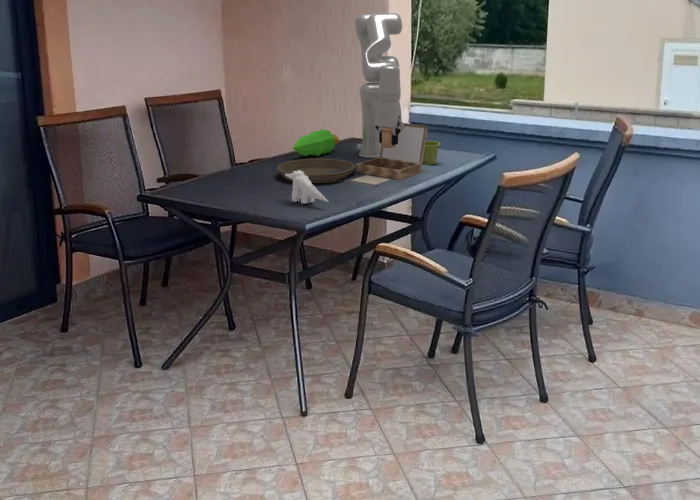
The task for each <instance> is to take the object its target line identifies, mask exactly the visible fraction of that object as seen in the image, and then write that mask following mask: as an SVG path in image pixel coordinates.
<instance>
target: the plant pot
mask: <svg viewBox="0 0 700 500" xmlns="http://www.w3.org/2000/svg"><path fill="white" fill-rule="evenodd" d="M440 145H441V142H438V141H433V140H426V143H425V149H424V155H423V162H422V163H420V164H422V165H425V166H433V165H436V164H437V157H438V153H439V148H440Z"/></svg>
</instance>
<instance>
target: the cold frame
mask: <svg viewBox="0 0 700 500" xmlns="http://www.w3.org/2000/svg"><path fill="white" fill-rule="evenodd" d="M422 166H423V164H421V163H417V162H410V161H403V160H397V159H390V158H383V157H381V158H380V157H379V158H371V159H369V160H366V161H362V162H358V163H356V164H355V167H356V174H363V175H368V176H374V177H380V178H386V179H391V180H392V179H393V180H398V181H399V180H403V179H407V178H410V177H412V176H415V175H418V174H422V172H423V171H422Z"/></svg>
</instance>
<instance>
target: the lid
mask: <svg viewBox="0 0 700 500" xmlns="http://www.w3.org/2000/svg"><path fill="white" fill-rule="evenodd" d="M403 124H404V125H405V128H404V129H403V130H402V131H401V132H400V134H398V144H397V145H395V147H394V148H383V147H382V144H381V151H380V157H381V158H387V159H393V160H400V161H407V162H413V163H420V164H421V163H422V162H423V155H424V149H425V143H426V141H427V135H428V128H429V125H426V124H425V125H424V124H415V123H408V122H407V123H406V122H403ZM398 128H400V126H399V127H398Z"/></svg>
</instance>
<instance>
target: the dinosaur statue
mask: <svg viewBox="0 0 700 500" xmlns="http://www.w3.org/2000/svg"><path fill="white" fill-rule="evenodd" d="M285 176H287V177H289V178H291V179H293V182H292V191H291V201H292V202H293V201H294V202H297V201H298V202H299V201H300V203H301V204H302V203H308V204H309V203H310V202H314V201H315V200H316V199H317V200H320V201H323V202H327V203H330V202H329V200H328V199H327V198H326V197H325V196H324V194H322V193H321V192H320V191H319V190H318V188H316V186H315V185H314V184H312V183H311V181H310V180H309V178H308V176H305V175H304V172H303V171H300V170H298V171H293V173H292V174H285ZM294 202H293V203H294ZM315 202H316V201H315Z"/></svg>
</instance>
